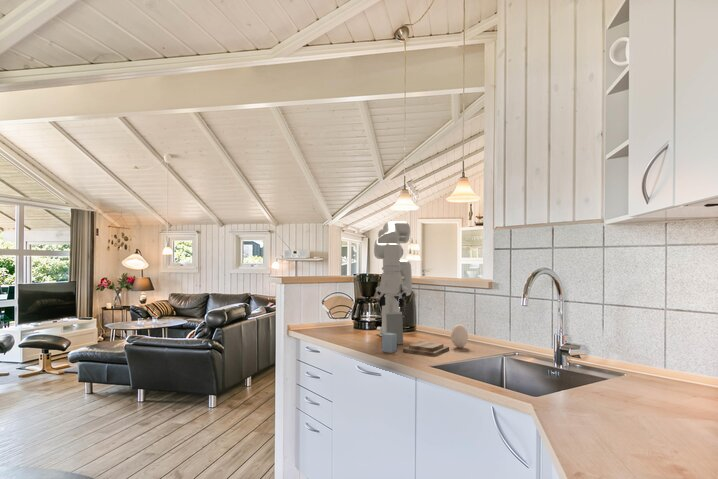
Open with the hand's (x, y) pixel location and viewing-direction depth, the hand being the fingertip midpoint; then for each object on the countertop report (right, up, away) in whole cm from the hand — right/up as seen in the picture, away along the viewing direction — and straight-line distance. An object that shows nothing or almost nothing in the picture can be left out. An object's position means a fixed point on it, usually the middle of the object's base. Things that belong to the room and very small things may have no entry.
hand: (391, 306), depth 207 cm
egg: (+33, -21, +7) cm, 40 cm away
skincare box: (+3, -22, +17) cm, 28 cm away
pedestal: (+16, -21, -1) cm, 26 cm away
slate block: (-1, -21, -1) cm, 21 cm away
